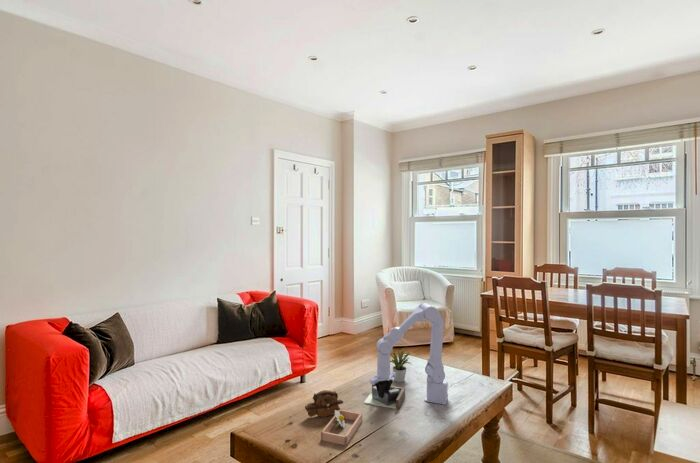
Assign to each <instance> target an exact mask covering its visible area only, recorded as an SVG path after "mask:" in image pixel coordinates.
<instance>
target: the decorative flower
mask: <svg viewBox="0 0 700 463" xmlns="http://www.w3.org/2000/svg"><path fill="white" fill-rule="evenodd" d="M338 411H339V410H338ZM338 411H336V410H335V413H334V414H333V415H334V416H335V415H336V416H335V417H336V422H337V423H338V424H339V425H340V427H341V428H343V429H346V428H345V427H346V423H345V422H346V421H345V418H344V416H342V415H341V414H340V413H339V412H338ZM337 412H338V413H337ZM336 422H335V423H336ZM337 423H336V424H337ZM322 430H323V429H320V430H319V431H317V432H316V433H313V436H315V435H317V434H318V433H321V432H322Z"/></svg>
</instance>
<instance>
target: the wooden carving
mask: <svg viewBox="0 0 700 463" xmlns="http://www.w3.org/2000/svg"><path fill="white" fill-rule="evenodd" d="M338 398H339V396H338V392H336V391H335V390H334V391H332V390H328V389H327V390H326V389H325V390H321V391H319V392H317V393H313V396H312V400H313V401H314V402H310V403H307V404H306V405H305V406H304V409H305V411H306V412H307V415H308V416H309V417H311V418H312V417H314V416H319V417H322V418H323V417H325V418H326V417H329V416H332V415H335V414H334V413H335V410H336V411H339V409H340V410H341V407H340V406H339V405H342V404H344V401H343V400H342V399H338Z"/></svg>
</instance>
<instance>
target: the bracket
mask: <svg viewBox="0 0 700 463" xmlns="http://www.w3.org/2000/svg"><path fill="white" fill-rule="evenodd" d="M371 392H372V398H373V399H375V400H377V401H379V402H381V403H383V404H385V405H387V406H389V405H391V404H394V403H396V399H397V397H398V395H399V390H398V389H396V388H395V389H393V390H390V391H386V390H384V393H383V398H380V397H379V396H378V391H377V388H376V386H374V387H372V386H371Z"/></svg>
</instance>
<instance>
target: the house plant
mask: <svg viewBox="0 0 700 463" xmlns="http://www.w3.org/2000/svg"><path fill="white" fill-rule="evenodd" d="M391 353H392V354H393V355H392V354H391ZM391 353H390V357H392V359H391V360H390V363H393V364H394V366H392V372H395V373H396V377H393V381H395V382H397V383H403V382H404V381H405V379H406V375H407V373H406V372H407V367H406V366H405V365H406V364H410V365H412V362H410V361H409V359H410V357H409V356H413V354H412V353H413V351H409V352H408V353H406V354H405V355H404V348H402V350H401V351H400V350H399V348H397V353H396V352H395V351H394V350H393V349H392V351H391ZM397 354H398V355H397Z"/></svg>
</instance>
